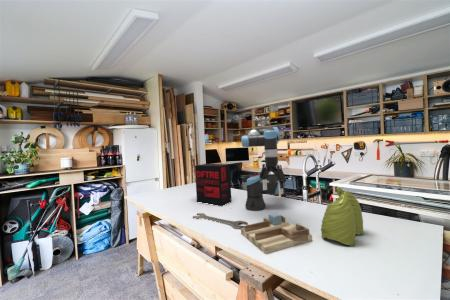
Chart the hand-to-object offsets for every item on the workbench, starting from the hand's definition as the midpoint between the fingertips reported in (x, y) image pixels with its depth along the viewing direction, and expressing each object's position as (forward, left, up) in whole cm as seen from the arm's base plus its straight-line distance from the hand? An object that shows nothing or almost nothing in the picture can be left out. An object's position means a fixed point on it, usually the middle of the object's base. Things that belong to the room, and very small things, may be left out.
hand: (272, 191), depth 129 cm
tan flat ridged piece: (+15, -10, -19) cm, 26 cm away
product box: (-65, -16, -20) cm, 70 cm away
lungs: (+30, +20, -20) cm, 41 cm away
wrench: (-22, -28, -20) cm, 41 cm away
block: (+6, -4, -16) cm, 18 cm away
